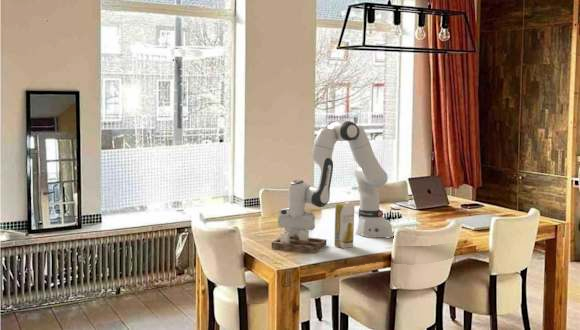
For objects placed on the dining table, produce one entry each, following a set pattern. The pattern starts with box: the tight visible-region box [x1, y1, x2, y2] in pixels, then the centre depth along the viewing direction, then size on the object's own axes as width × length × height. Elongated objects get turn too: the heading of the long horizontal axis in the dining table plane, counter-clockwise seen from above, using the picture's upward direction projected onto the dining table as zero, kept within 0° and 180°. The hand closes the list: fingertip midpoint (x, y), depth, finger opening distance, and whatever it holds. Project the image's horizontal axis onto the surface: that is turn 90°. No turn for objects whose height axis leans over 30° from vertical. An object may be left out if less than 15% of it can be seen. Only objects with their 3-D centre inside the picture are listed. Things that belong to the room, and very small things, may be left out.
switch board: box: [271, 235, 327, 254], centre depth 337 cm, size 24×18×3 cm
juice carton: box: [334, 201, 355, 249], centre depth 338 cm, size 9×8×24 cm
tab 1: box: [279, 230, 290, 244], centre depth 335 cm, size 4×4×7 cm
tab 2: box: [299, 229, 310, 241], centre depth 340 cm, size 4×4×7 cm
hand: (296, 236), depth 342 cm, fingers closed
